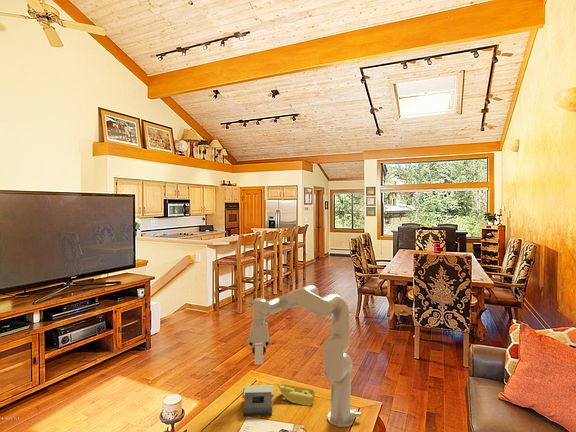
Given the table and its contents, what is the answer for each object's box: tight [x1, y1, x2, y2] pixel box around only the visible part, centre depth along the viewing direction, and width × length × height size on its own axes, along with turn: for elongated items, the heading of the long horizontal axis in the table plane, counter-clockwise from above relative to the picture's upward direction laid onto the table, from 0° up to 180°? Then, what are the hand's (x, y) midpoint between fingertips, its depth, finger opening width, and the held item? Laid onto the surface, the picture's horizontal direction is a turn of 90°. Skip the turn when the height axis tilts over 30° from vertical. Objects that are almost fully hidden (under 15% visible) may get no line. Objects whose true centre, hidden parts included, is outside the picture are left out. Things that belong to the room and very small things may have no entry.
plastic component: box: [278, 383, 316, 407], centre depth 178 cm, size 20×7×10 cm
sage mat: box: [243, 384, 274, 398], centre depth 183 cm, size 16×10×1 cm, turn 94°
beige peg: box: [254, 342, 264, 365], centre depth 183 cm, size 5×5×10 cm
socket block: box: [242, 392, 273, 417], centre depth 168 cm, size 14×14×4 cm
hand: (259, 353), depth 183 cm, fingers closed on beige peg, 4 cm apart
